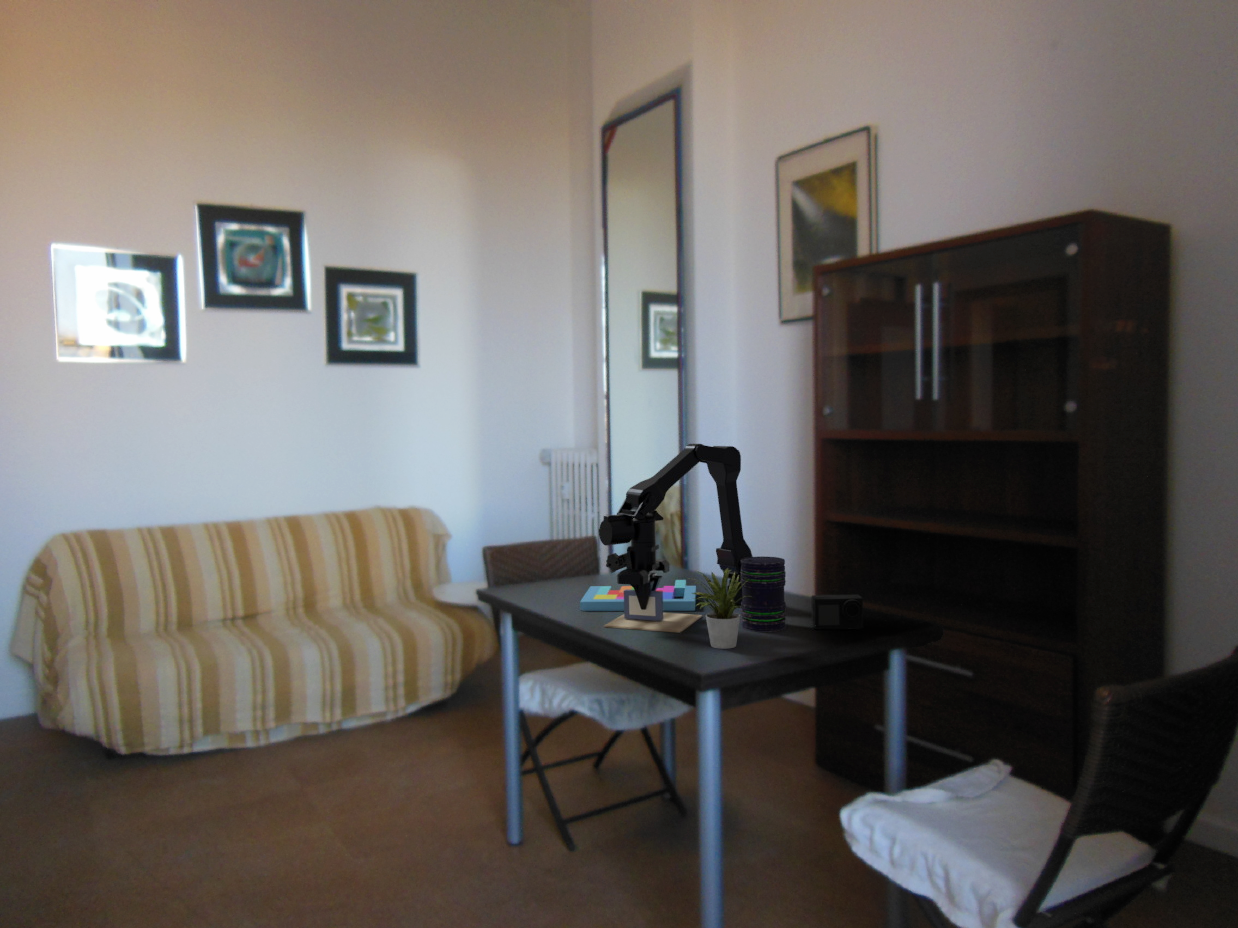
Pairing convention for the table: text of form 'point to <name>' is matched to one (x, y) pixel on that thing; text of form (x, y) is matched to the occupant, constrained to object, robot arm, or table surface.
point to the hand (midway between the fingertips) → (645, 608)
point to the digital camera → (837, 611)
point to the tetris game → (614, 599)
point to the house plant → (721, 611)
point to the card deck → (652, 610)
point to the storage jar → (763, 594)
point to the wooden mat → (656, 623)
